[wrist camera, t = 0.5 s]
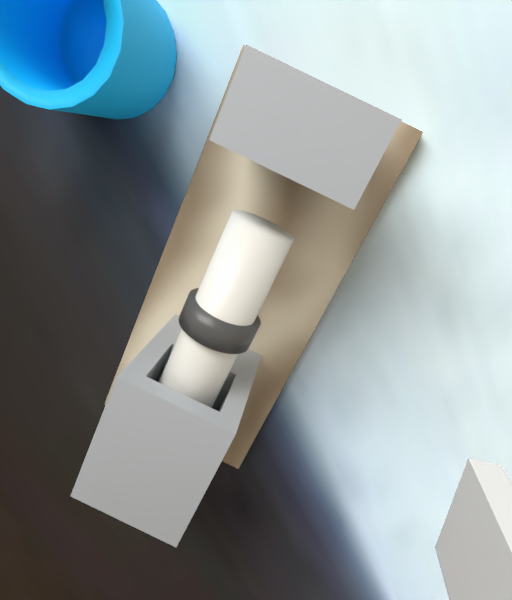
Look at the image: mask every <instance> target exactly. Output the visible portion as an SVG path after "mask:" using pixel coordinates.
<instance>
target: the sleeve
mask: <svg viewBox="0 0 512 600" xmlns="http://www.w3.org/2000/svg"><path fill="white" fill-rule="evenodd" d="M178 319H179V315H177V314H175V315H174V316H173V317H172V318H171V319H170V321H169V322H168V323H167V324H166V325H165V326H164V327H163V328H162V329H161V330H160V331H159V332H158V333H157V334H156V335H155V337H154V338H153V339H152V340H151V341H150V342H149V343H148V344H147V345H146V346H145V347H144V348H143V349H142V350H141V351H140V353H139V354H138V355H137V356H136V357H135V358H134V359H133V360H132V361H131V362H130V363H129V364H128V365H127V366H126V367H125V369H124V370H123V371H122V372H121V373H120V374H119V375H118V376H117V378H116V380H115V383H114V385H113V388H112V390H111V393H110V396H109V398H108V401H107V403H106V406H105V408H104V411H103V414H102V416H101V419H100V421H99V424H98V426H97V429H96V432H95V434H94V437H93V439H92V442H91V444H90V447H89V450H88V452H87V455H86V457H85V460H84V462H83V465H82V468H81V470H80V473H79V475H78V478H77V480H76V483H75V486H74V488H73V491H72V493H71V497H73V498H75V499H77V500H79V501H81V502H83V503H85V504H87V505H89V506H92V507H94V508H96V509H98V510H100V511H102V512H104V513H106V514H108V515H110V516H112V517H114V518H116V519H118V520H120V521H123V522H125V523H127V524H129V525H131V526H133V527H135V528H137V529H139V530H141V531H143V532H145V533H147V534H149V535H151V536H153V537H156V538H158V539H160V540H162V541H164V542H166V543H168V544H170V545H172V546H174V547H177V545H178V543H179V541H180V539H181V537H182V536H183V534H184V532H185V530H186V528H187V526H188V524H189V522H190V520H191V518H192V517H193V515H194V513H195V511H196V509H197V507H198V505H199V503H200V501H201V499H202V498H203V496H204V494H205V492H206V490H207V488H208V486H209V484H210V482H211V480H212V479H213V477H214V475H215V473H216V471H217V469H218V467H219V465H220V463H221V461H222V460H223V458H224V456H225V454H226V452H227V450H228V448H229V446H230V444H231V443H232V441H233V439H234V437H235V435H236V432H237V429H238V426H239V423H240V420H241V417H242V414H243V411H244V408H245V405H246V402H247V399H248V396H249V393H250V390H251V387H252V383H253V380H254V377H255V374H256V371H257V368H258V365H259V362H260V359H261V356H262V355H260V354H258V353H256V352H253V351H251V350H249V349H248V350H247V351H246V352H244V353H241V354H238V355H237V358H236V360H235V362H234V364H233V366H232V368H231V370H230V372H229V374H228V376H227V378H226V380H225V382H224V384H223V386H222V388H221V390H220V392H219V394H218V396H217V398H216V400H215V402H214V404H213V406H212V408H211V407H209V406H206V405H204V404H202V403H200V402H198V401H196V400H194V399H192V398H190V397H188V396H186V395H184V394H182V393H180V392H178V391H175V390H173V389H171V388H169V387H167V386H165V385H163V384H161V383H159V380H160V378H161V375H162V373H163V371H164V368H165V366H166V364H167V361H168V359H169V357H170V354H171V352H172V350H173V347H174V345H175V343H176V341H177V338H178V336H179V334H180V331H181V329H182V328H181V327H180V324H179V321H178Z"/></svg>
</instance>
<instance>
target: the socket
mask: <svg viewBox="0 0 512 600" xmlns="http://www.w3.org/2000/svg"><path fill="white" fill-rule="evenodd" d="M400 122H401V119H399V118H397V117H395V116H393V115H391V114H388V113H386V112H384V111H382V110H380V109H378V108H376V107H374V106H372V105H370V104H368V103H366V102H364V101H362V100H359V99H357V98H355V97H353V96H351V95H349V94H347V93H345V92H343V91H341V90H339V89H337V88H335V87H333V86H330V85H328V84H326V83H324V82H322V81H320V80H318V79H316V78H314V77H312V76H310V75H308V74H306V73H304V72H302V71H299V70H297V69H295V68H293V67H291V66H289V65H287V64H285V63H283V62H281V61H279V60H277V59H275V58H273V57H270V56H268V55H266V54H264V53H262V52H260V51H258V50H256V49H254V48H252V47H250V46H248V45H246V46H245V49H244V51H243V54H242V56H241V59H240V61H239V64H238V67H237V69H236V72H235V74H234V77H233V79H232V82H231V85H230V87H229V90H228V92H227V95H226V97H225V100H224V103H223V105H222V108H221V110H220V113H219V115H218V118H217V121H216V123H215V126H214V128H213V131H212V133H211V136H210V139H209V140H210V141H212V142H214V143H216V144H219V145H221V146H223V147H225V148H227V149H229V150H231V151H233V152H235V153H237V154H239V155H241V156H243V157H245V158H247V159H250V160H252V161H254V162H256V163H258V164H260V165H262V166H264V167H266V168H268V169H270V170H272V171H274V172H276V173H279V174H281V175H283V176H285V177H287V178H289V179H291V180H293V181H295V182H297V183H299V184H301V185H303V186H305V187H307V188H310V189H312V190H314V191H316V192H318V193H320V194H322V195H324V196H326V197H328V198H330V199H332V200H334V201H336V202H339V203H341V204H343V205H345V206H347V207H349V208H351V209H353V210H354V209H355V207H356V205H357V203H358V202H359V200H360V198H361V196H362V194H363V192H364V190H365V188H366V186H367V184H368V183H369V181H370V179H371V177H372V175H373V173H374V171H375V169H376V167H377V165H378V164H379V162H380V160H381V158H382V156H383V154H384V152H385V150H386V148H387V147H388V145H389V143H390V141H391V139H392V137H393V135H394V133H395V131H396V129H397V128H398V126H399V124H400Z"/></svg>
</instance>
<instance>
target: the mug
mask: <svg viewBox="0 0 512 600" xmlns="http://www.w3.org/2000/svg"><path fill="white" fill-rule="evenodd" d="M176 58H177V52H176V43H175V35H174V31H173V29H172V26H171V24H170V22H169V19H168V17H167V14H166V12H165V11H164V9H163V8H162V7H161V6H160V4H159V3H158V2H157V1H156V0H0V86H1V87H2V88H3V89H4V90H5V91H7V92H8V93H10V94H12V95H13V96H15V97H16V98H18V99H19V100H21V101H23V102H24V103H26V104H29V105H33V106H37V107H41V108H45V109H49V110H56V111H63V112H70V113H77V114H83V115H90V116H97V117H104V118H111V119H127V118H136V117H138V116H140V115H142V114H144V113H146V112H148V111H149V110H151V109H153V108H154V106H155V105H156V104H157V103H158V102H159V101H160V100H161V99H162V98H163V97H164V96H165V94H166V92H167V90H168V88H169V86H170V84H171V81H172V79H173V77H174V71H175V65H176Z"/></svg>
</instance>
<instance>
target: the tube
mask: <svg viewBox="0 0 512 600" xmlns="http://www.w3.org/2000/svg"><path fill="white" fill-rule="evenodd" d="M293 241H294V237H293V236H292V235H291V234H290V233H288V232H287V231H286V230H284V229H283V228H281V227H279V226H278V225H276V224H274V223H272V222H270V221H268V220H266V219H264V218H262V217H260V216H257V215H255V214H252V213H249V212H246V211H242V210H233V211H232V213H231V215H230V217H229V219H228V222H227V224H226V226H225V229H224V231H223V233H222V236H221V238H220V240H219V243H218V245H217V247H216V250H215V252H214V254H213V257H212V259H211V261H210V264H209V266H208V268H207V271H206V273H205V275H204V278H203V280H202V282H201V285H200V287H199V288H196V289H193V290H191V291H190V292H189V294H188V297H187V299H186V301H185V304H184V306H183V309H182V311H181V313H180V316H179V319H178V321H179V324H180V327H181V328H182V329H181V331H180V334H179V336H178V338H177V341H176V343H175V345H174V347H173V350H172V352H171V354H170V357H169V359H168V361H167V364H166V366H165V368H164V371H163V373H162V375H161V378H160V380H159V383H161V384H163V385H165V386H167V387H169V388H171V389H173V390H175V391H178V392H180V393H182V394H184V395H186V396H188V397H190V398H192V399H194V400H196V401H198V402H200V403H202V404H204V405H206V406H209V407H211V408H212V406H213V404H214V402H215V400H216V398H217V396H218V394H219V392H220V390H221V388H222V386H223V384H224V382H225V380H226V378H227V376H228V374H229V372H230V370H231V368H232V366H233V364H234V362H235V360H236V358H237V355H238V354H241V353H244V352H246V351H247V350H248V349H249V347H250V345H251V343H252V341H253V339H254V337H255V335H256V333H257V331H258V329H259V327H260V324H261V321H260V318H259V316H258V313H259V311H260V309H261V307H262V305H263V303H264V300H265V298H266V296H267V294H268V292H269V290H270V288H271V286H272V284H273V282H274V280H275V278H276V276H277V274H278V272H279V270H280V268H281V266H282V264H283V262H284V260H285V258H286V256H287V254H288V252H289V250H290V248H291V245H292V243H293Z"/></svg>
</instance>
